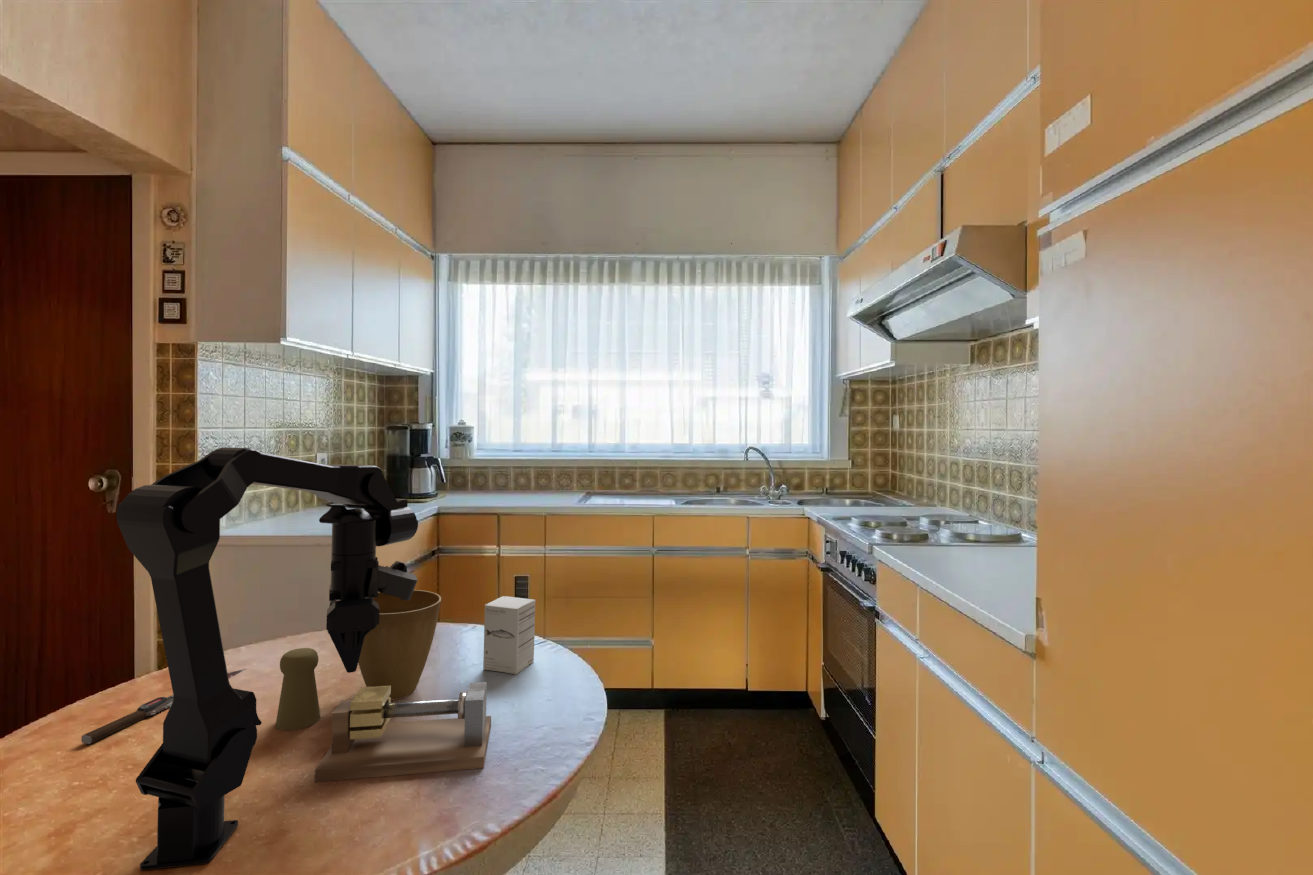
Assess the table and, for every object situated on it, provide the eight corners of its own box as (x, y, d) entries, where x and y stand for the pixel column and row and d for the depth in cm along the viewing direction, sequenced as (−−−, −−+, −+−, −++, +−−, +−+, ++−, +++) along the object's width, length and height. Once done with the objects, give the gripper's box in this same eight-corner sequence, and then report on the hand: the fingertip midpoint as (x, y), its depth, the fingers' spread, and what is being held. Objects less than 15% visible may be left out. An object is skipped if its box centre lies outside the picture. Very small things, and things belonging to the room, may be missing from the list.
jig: (483, 767, 81) (484, 716, 81) (314, 781, 77) (315, 727, 77) (491, 725, 93) (491, 680, 93) (344, 735, 89) (345, 688, 89)
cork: (299, 732, 90) (301, 659, 90) (265, 727, 91) (266, 655, 91) (329, 714, 96) (330, 645, 96) (296, 710, 97) (298, 642, 97)
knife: (256, 662, 115) (95, 736, 85) (254, 672, 115) (92, 749, 85) (243, 658, 115) (78, 731, 85) (241, 668, 115) (74, 743, 85)
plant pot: (336, 715, 95) (338, 615, 95) (356, 678, 110) (358, 591, 110) (435, 705, 99) (437, 609, 99) (442, 671, 114) (444, 587, 114)
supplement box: (481, 670, 114) (482, 604, 114) (502, 656, 122) (503, 594, 122) (516, 675, 112) (517, 608, 112) (535, 661, 119) (536, 598, 119)
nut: (381, 737, 82) (381, 700, 82) (349, 739, 81) (350, 702, 81) (390, 719, 87) (390, 685, 87) (360, 721, 86) (361, 687, 86)
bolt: (482, 745, 84) (482, 699, 84) (337, 756, 81) (337, 708, 81) (486, 725, 90) (486, 681, 90) (351, 734, 87) (351, 689, 87)
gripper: (421, 559, 82) (418, 674, 82) (408, 538, 98) (406, 634, 98) (327, 566, 77) (324, 688, 76) (331, 542, 93) (328, 643, 93)
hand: (351, 660), depth 86 cm, fingers open, 9 cm apart
